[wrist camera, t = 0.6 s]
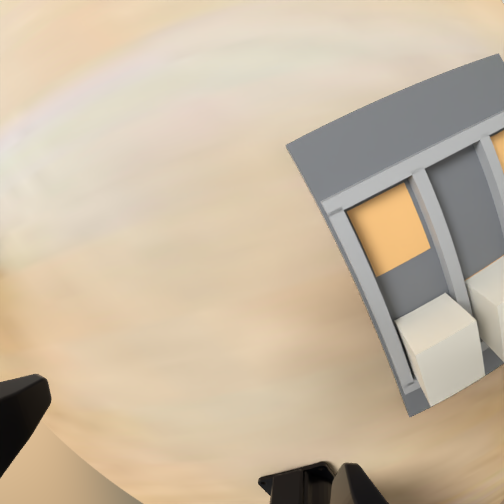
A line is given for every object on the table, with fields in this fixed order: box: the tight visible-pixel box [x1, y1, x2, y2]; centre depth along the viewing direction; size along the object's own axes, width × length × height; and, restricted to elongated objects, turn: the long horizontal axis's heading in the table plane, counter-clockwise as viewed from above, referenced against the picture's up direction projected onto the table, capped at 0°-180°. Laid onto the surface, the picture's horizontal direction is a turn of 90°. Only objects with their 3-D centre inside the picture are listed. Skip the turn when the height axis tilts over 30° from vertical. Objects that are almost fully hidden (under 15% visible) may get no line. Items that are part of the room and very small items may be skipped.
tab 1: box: [394, 293, 485, 407], centre depth 15 cm, size 4×4×4 cm
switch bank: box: [286, 53, 504, 417], centre depth 16 cm, size 20×16×2 cm
